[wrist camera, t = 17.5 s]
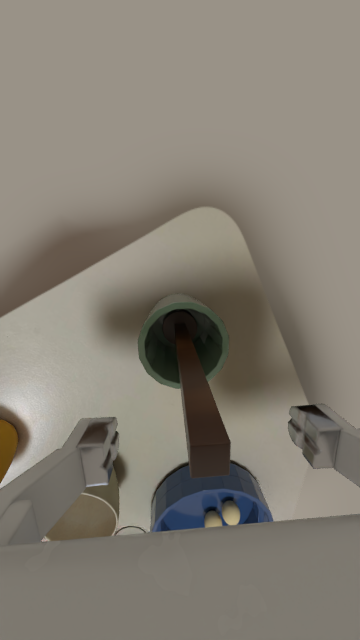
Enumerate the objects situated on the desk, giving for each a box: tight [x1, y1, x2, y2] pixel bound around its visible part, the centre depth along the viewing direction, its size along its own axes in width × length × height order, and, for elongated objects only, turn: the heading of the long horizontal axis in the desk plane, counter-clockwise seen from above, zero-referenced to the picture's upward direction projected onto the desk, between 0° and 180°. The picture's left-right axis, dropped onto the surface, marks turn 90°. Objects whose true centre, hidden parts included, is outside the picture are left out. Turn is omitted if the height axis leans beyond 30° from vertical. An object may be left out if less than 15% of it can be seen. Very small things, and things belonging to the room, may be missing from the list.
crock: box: [138, 294, 229, 389], centre depth 22 cm, size 8×8×10 cm
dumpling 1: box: [204, 511, 222, 528], centre depth 33 cm, size 3×3×3 cm
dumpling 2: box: [222, 501, 240, 525], centre depth 32 cm, size 3×3×3 cm
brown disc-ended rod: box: [162, 309, 231, 478], centre depth 17 cm, size 4×4×20 cm
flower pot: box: [44, 468, 119, 541], centre depth 28 cm, size 10×10×7 cm
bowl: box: [150, 463, 274, 532], centre depth 32 cm, size 19×19×5 cm
